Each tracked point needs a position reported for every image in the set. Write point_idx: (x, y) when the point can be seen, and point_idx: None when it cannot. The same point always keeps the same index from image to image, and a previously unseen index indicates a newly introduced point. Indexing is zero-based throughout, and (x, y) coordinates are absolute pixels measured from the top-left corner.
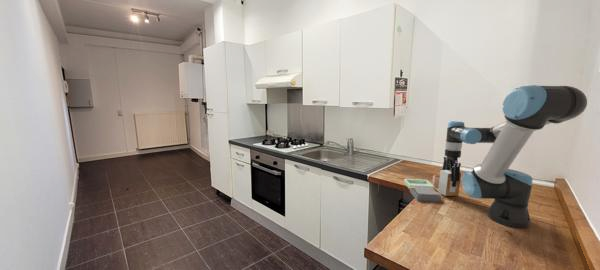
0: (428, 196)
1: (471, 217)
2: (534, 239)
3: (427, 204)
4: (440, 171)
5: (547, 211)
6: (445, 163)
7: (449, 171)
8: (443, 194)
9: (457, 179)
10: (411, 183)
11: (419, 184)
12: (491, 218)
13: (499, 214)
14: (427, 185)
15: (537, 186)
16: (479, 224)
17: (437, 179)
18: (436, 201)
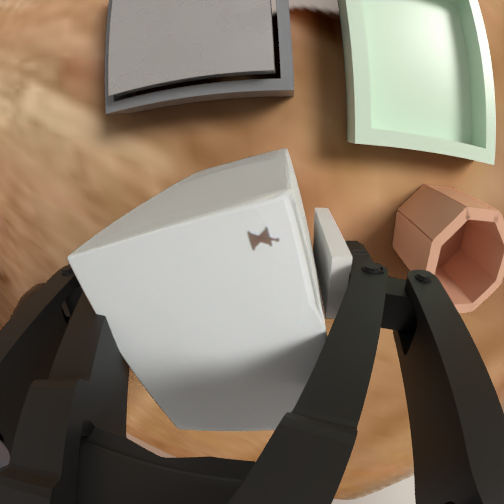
0: (107, 31)
1: (27, 214)
2: (7, 313)
3: (91, 36)
4: (287, 183)
5: (182, 451)
6: (447, 437)
7: (200, 342)
8: (219, 165)
9: (67, 305)
10: (445, 27)
11: (441, 76)
12: (40, 284)
13: (16, 306)
14: (430, 131)
15: (355, 493)
16: (2, 218)
17: (442, 219)
18: None
